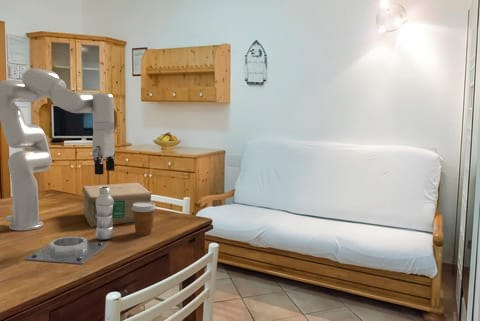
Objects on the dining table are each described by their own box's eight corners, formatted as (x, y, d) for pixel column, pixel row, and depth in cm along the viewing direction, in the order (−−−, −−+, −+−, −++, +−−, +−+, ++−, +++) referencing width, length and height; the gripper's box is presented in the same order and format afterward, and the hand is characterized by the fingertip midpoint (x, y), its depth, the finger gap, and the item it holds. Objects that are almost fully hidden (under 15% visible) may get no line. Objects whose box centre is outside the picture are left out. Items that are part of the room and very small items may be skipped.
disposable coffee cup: (131, 237, 166) (131, 207, 164) (132, 230, 175) (132, 201, 174) (155, 236, 168) (155, 206, 166) (155, 229, 177) (155, 201, 175)
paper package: (90, 228, 177) (89, 195, 175) (82, 213, 200) (81, 184, 198) (153, 221, 190) (153, 191, 188) (139, 208, 212) (139, 181, 210)
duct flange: (24, 259, 139) (24, 249, 138) (57, 241, 159) (56, 231, 158) (82, 263, 137) (82, 253, 136) (108, 244, 156) (108, 235, 156)
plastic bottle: (95, 237, 165) (94, 186, 162) (113, 235, 167) (113, 185, 165) (95, 242, 159) (95, 189, 156) (114, 240, 161) (114, 189, 159)
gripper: (104, 126, 166) (105, 169, 168) (83, 127, 149) (84, 175, 151) (122, 126, 166) (123, 169, 168) (103, 128, 149) (104, 176, 151)
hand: (104, 172), depth 160 cm, fingers open, 9 cm apart
